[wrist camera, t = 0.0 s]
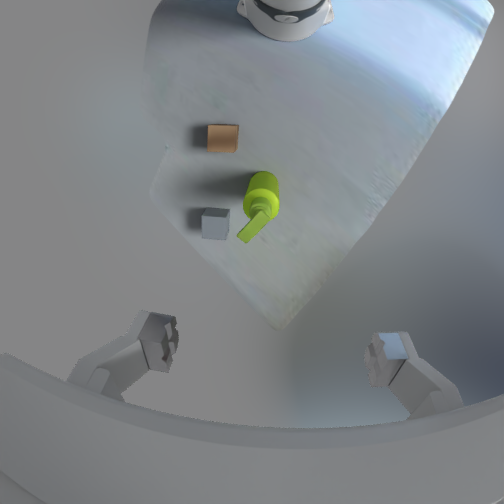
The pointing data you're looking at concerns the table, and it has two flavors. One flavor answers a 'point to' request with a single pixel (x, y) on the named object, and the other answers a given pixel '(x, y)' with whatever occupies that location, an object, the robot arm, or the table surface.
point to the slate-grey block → (215, 223)
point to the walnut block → (222, 138)
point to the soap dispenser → (260, 204)
